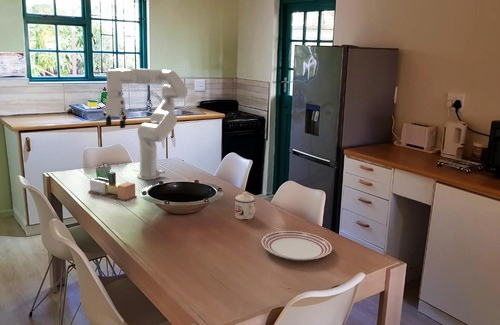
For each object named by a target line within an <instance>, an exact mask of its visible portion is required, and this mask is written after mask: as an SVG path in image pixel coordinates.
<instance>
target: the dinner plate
mask: <svg viewBox="0 0 500 325" xmlns="http://www.w3.org/2000/svg"><path fill="white" fill-rule="evenodd" d="M261 245H262V247H263V248H264V249H265V250H266V251H268V252H269V253H271V254H272V255H275V256H277V257H279V258H283V259H286V260H291V261H313V260H317V259H321V258H323V257H326V256H329V255H330V253H332V250H333V247H332V245H331V243H330V242H329V241H328V240H327V239H325V238H323V237H321V236H319V235H316V234H313V233H309V232H304V231H297V230H279V231H275V232H270V233H268V234H266V235H264V236H263V237H262V239H261Z"/></svg>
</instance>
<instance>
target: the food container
mask: <svg viewBox="0 0 500 325" xmlns="http://www.w3.org/2000/svg"><path fill="white" fill-rule="evenodd" d="M111 166H112V165H111V163H108V162H102V164H101V165H99V166H98V167H95V173H96V178H97V177H101V178H106V179H108V173H109V172H111V170H112V167H111Z"/></svg>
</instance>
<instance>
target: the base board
mask: <svg viewBox="0 0 500 325" xmlns="http://www.w3.org/2000/svg"><path fill="white" fill-rule="evenodd" d="M87 193H88V194H90V195H95V196H100V197H103V198H106V199H111V200H115V201H119V202H124V203H126V202H127V203H128V202H129V201H132V200H135V199H137V197H138V195H135V196H134V197H131V198H129V199H126V200H125V199H121V198H118V195H116V194H112V193H107V194H102V193H98V192H93V191H90V190H88V192H87Z"/></svg>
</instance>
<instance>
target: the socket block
mask: <svg viewBox="0 0 500 325" xmlns="http://www.w3.org/2000/svg"><path fill="white" fill-rule="evenodd" d="M119 184H120V185H118V198H121V199H125V200H126V199H129V198H131V197H134V196H136V183H135V182H134V183H133V182H129V181H126V182H124V183H123V182H122V183H119Z"/></svg>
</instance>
